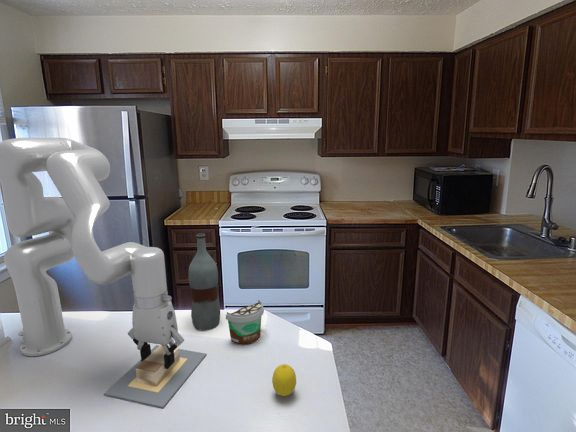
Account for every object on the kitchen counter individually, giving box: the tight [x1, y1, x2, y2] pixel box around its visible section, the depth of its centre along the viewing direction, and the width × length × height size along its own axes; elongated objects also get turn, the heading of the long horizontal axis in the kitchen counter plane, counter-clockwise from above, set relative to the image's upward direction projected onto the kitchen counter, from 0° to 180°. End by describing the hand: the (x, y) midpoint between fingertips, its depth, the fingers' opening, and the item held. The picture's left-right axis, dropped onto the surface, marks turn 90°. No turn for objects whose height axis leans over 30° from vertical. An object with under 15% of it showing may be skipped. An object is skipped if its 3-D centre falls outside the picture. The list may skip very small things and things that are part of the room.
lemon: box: [271, 363, 297, 397], centre depth 81 cm, size 6×6×8 cm
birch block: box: [136, 344, 180, 387], centre depth 89 cm, size 6×10×4 cm, turn 164°
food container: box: [225, 299, 265, 346], centre depth 102 cm, size 12×6×10 cm, turn 131°
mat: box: [103, 344, 208, 410], centre depth 89 cm, size 16×20×1 cm
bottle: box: [187, 233, 221, 331], centre depth 109 cm, size 9×9×30 cm
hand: (158, 362), depth 88 cm, fingers open, 6 cm apart
